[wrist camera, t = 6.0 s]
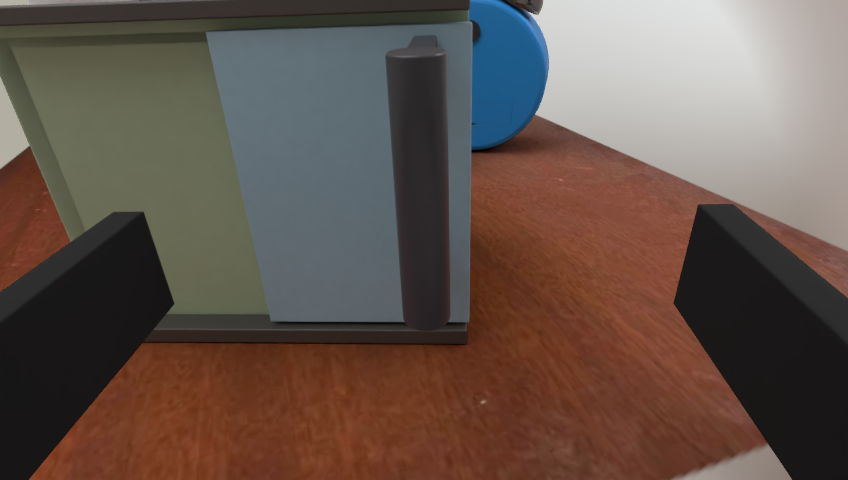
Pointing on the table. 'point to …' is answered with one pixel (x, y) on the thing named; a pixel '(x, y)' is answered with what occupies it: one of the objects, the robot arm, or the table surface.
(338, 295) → the door
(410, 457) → the table surface
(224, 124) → the cabinet
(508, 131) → the alarm clock
